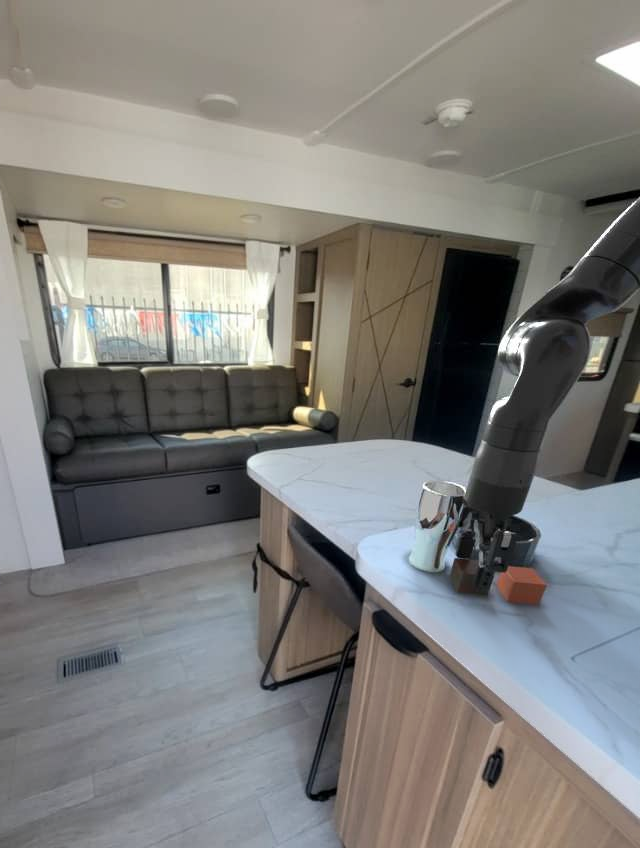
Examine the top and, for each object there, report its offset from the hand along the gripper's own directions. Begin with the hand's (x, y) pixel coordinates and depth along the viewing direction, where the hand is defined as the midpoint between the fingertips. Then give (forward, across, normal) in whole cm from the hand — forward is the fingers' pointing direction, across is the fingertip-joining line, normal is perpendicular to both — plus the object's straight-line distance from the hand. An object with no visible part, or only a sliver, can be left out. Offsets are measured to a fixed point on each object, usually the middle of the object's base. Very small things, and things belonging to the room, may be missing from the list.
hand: (470, 571), depth 64 cm
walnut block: (+4, 0, 0) cm, 4 cm away
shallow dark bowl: (+4, +13, -8) cm, 16 cm away
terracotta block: (+4, -1, -7) cm, 8 cm away
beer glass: (+4, +6, +5) cm, 9 cm away
